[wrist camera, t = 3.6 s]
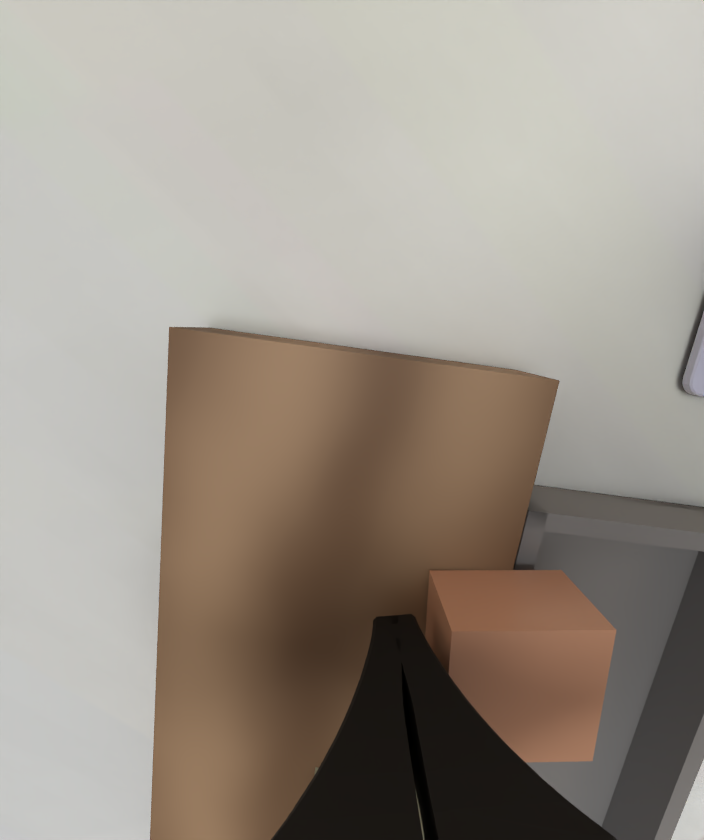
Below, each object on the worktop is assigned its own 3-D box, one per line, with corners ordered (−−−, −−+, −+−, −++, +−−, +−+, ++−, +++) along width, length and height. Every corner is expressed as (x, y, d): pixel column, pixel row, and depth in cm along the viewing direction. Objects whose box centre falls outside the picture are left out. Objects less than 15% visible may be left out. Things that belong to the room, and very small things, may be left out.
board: (516, 369, 14) (559, 380, 11) (403, 879, 19) (411, 979, 16) (208, 327, 14) (169, 326, 11) (178, 855, 19) (145, 952, 16)
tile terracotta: (561, 570, 12) (616, 630, 10) (545, 680, 13) (592, 761, 11) (429, 570, 12) (452, 631, 10) (422, 682, 13) (441, 764, 11)
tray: (719, 509, 15) (790, 544, 13) (591, 867, 19) (627, 948, 16) (500, 480, 15) (528, 510, 12) (416, 848, 19) (425, 926, 16)
